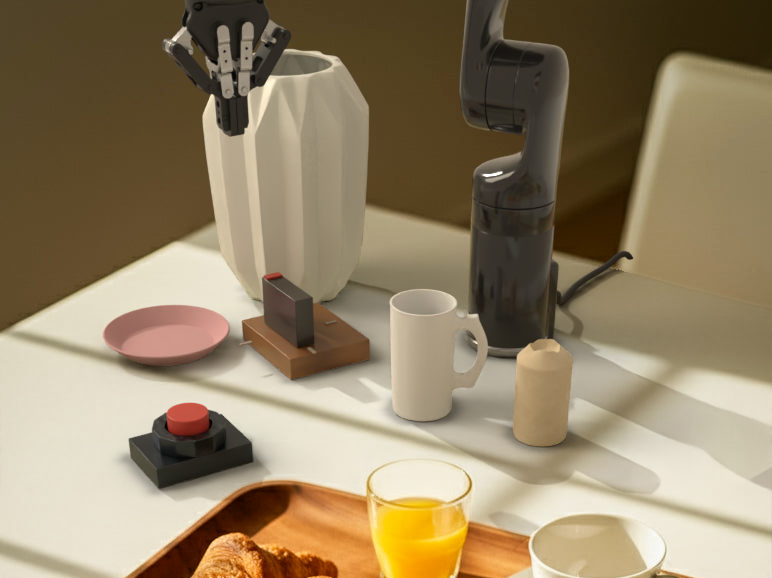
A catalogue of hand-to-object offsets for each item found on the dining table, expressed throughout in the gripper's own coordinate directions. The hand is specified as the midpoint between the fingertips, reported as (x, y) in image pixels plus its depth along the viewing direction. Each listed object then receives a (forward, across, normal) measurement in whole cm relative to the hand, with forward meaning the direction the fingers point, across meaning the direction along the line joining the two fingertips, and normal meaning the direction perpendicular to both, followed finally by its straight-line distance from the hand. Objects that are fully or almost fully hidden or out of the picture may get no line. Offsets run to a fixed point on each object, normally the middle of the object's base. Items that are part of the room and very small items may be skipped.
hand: (233, 133), depth 132 cm
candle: (+27, +20, -26) cm, 43 cm away
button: (+23, -12, -13) cm, 29 cm away
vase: (+27, +16, +20) cm, 37 cm away
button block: (+27, -12, -12) cm, 32 cm away
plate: (+27, -4, +13) cm, 30 cm away
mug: (+27, +14, -16) cm, 35 cm away
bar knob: (+24, +7, +4) cm, 26 cm away
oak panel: (+27, +7, +4) cm, 28 cm away
